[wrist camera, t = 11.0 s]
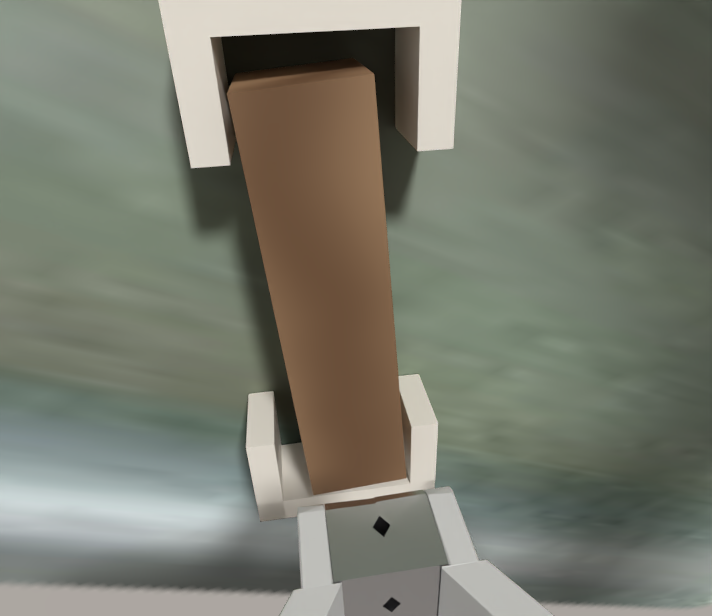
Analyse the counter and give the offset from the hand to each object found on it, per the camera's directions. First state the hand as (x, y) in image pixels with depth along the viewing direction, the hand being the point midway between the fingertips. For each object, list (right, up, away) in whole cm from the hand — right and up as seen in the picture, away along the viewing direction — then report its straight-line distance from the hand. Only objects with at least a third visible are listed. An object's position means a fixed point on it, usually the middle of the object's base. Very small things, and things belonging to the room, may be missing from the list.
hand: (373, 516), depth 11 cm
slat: (-1, +5, +9) cm, 11 cm away
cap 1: (-2, +12, +5) cm, 13 cm away
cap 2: (-1, -1, +12) cm, 12 cm away
